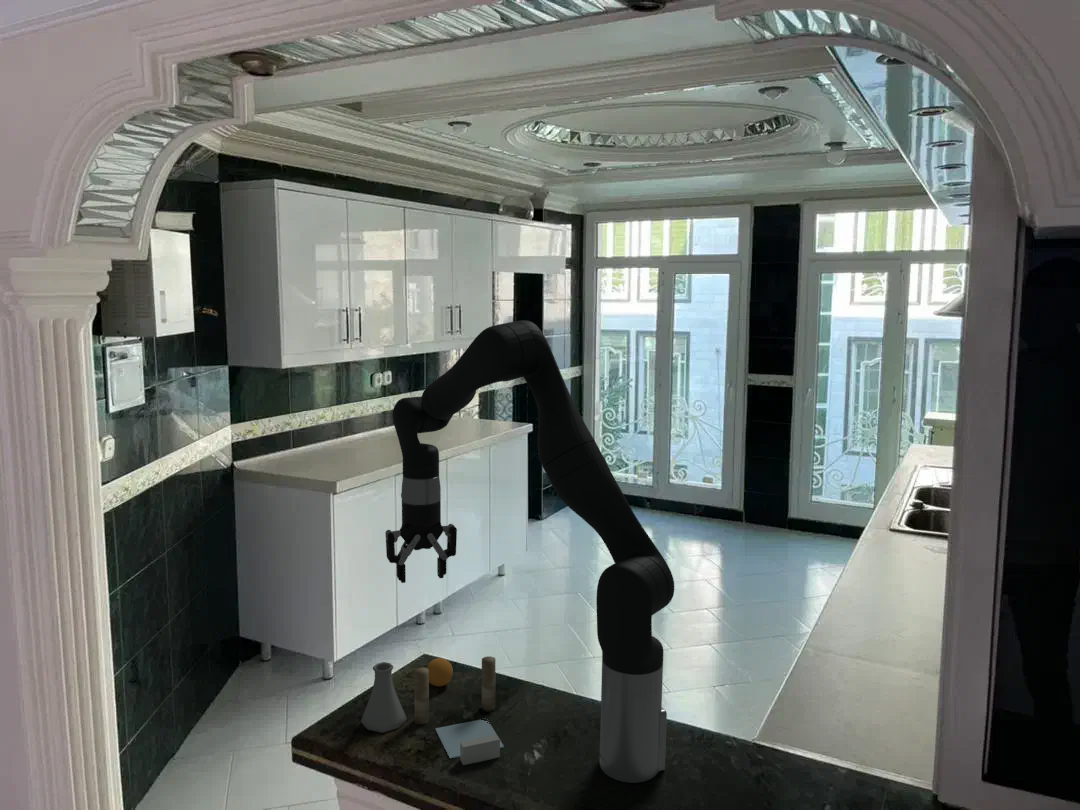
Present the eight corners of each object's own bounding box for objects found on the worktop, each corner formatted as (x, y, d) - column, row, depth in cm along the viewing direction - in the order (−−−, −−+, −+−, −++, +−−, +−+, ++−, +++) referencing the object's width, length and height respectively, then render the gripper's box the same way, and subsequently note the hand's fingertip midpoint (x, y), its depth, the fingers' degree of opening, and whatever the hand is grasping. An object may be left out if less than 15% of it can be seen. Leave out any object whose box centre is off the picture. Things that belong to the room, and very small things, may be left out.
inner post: (492, 703, 141) (492, 655, 139) (497, 710, 138) (497, 661, 137) (479, 705, 140) (479, 657, 139) (484, 712, 138) (484, 663, 136)
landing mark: (486, 719, 135) (486, 718, 135) (504, 747, 127) (504, 746, 127) (435, 729, 132) (435, 728, 132) (449, 759, 124) (449, 757, 124)
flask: (382, 738, 129) (381, 681, 128) (353, 723, 134) (351, 667, 132) (414, 720, 135) (413, 664, 134) (385, 706, 139) (384, 652, 138)
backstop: (496, 751, 126) (496, 734, 125) (499, 757, 124) (499, 739, 124) (460, 759, 124) (460, 741, 123) (463, 765, 122) (463, 747, 122)
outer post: (427, 715, 136) (426, 666, 135) (430, 722, 134) (430, 672, 133) (413, 718, 135) (412, 668, 134) (416, 725, 133) (415, 675, 132)
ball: (448, 676, 150) (448, 651, 150) (456, 688, 146) (456, 663, 145) (423, 681, 148) (422, 655, 148) (429, 693, 144) (429, 667, 143)
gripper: (388, 506, 148) (389, 590, 151) (462, 499, 154) (462, 581, 156) (380, 496, 155) (381, 577, 157) (451, 490, 160) (451, 568, 163)
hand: (421, 579), depth 157 cm, fingers open, 7 cm apart
